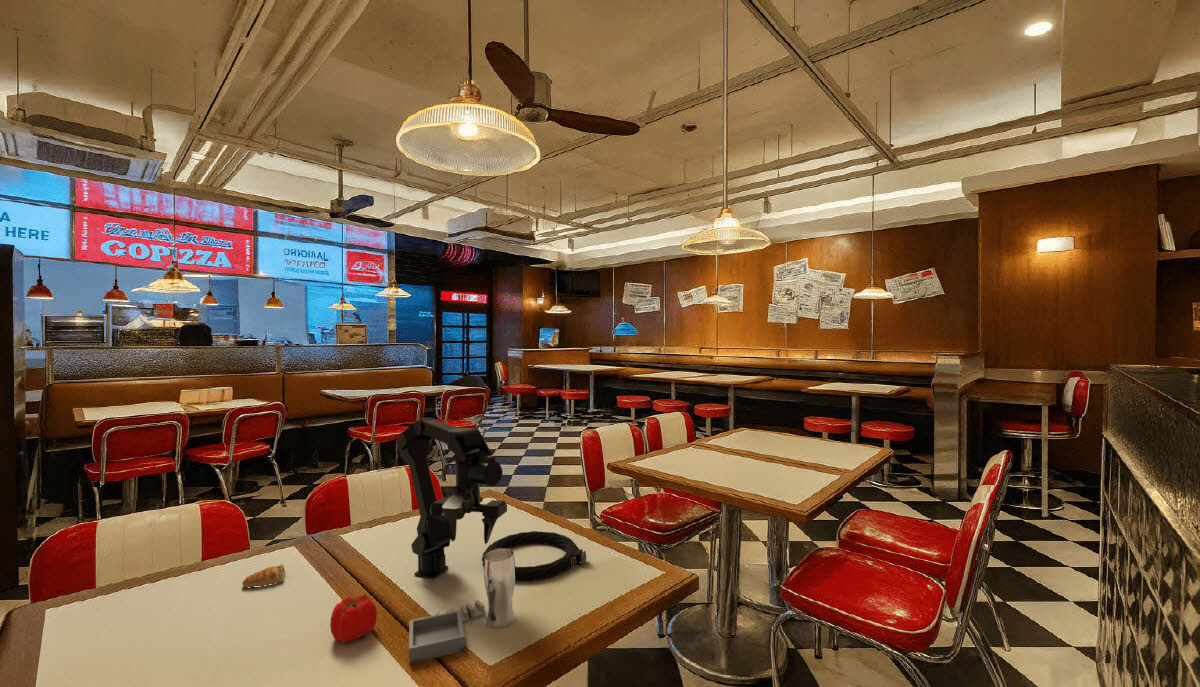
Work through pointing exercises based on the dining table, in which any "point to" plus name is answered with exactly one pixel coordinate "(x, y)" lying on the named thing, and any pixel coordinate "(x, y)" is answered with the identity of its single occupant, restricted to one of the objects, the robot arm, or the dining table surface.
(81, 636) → the dining table surface
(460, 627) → the holder
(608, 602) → the dining table surface
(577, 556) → the cable lock
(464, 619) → the clip
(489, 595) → the beer glass
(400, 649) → the dining table surface
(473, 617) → the clip
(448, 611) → the clip
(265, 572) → the pastry
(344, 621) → the tomato
